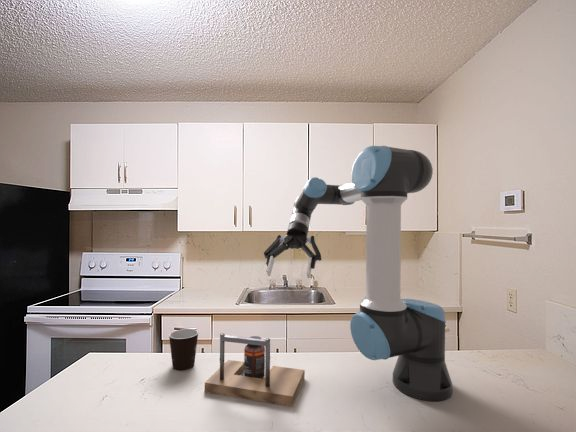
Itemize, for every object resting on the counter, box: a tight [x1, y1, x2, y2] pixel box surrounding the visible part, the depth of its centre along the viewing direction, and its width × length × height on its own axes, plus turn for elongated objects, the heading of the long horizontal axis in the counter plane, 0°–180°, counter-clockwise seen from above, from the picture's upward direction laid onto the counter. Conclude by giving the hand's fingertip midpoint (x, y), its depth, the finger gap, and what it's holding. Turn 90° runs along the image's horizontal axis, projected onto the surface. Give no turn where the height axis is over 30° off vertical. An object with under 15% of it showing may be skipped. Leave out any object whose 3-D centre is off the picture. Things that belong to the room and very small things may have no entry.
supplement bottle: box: [243, 335, 266, 379], centre depth 90 cm, size 6×6×11 cm
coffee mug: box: [168, 328, 199, 372], centre depth 98 cm, size 12×9×10 cm
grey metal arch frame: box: [219, 333, 271, 387], centre depth 83 cm, size 14×1×12 cm, turn 75°
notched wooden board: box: [204, 359, 305, 408], centre depth 86 cm, size 24×14×2 cm, turn 75°
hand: (287, 274), depth 102 cm, fingers open, 13 cm apart
